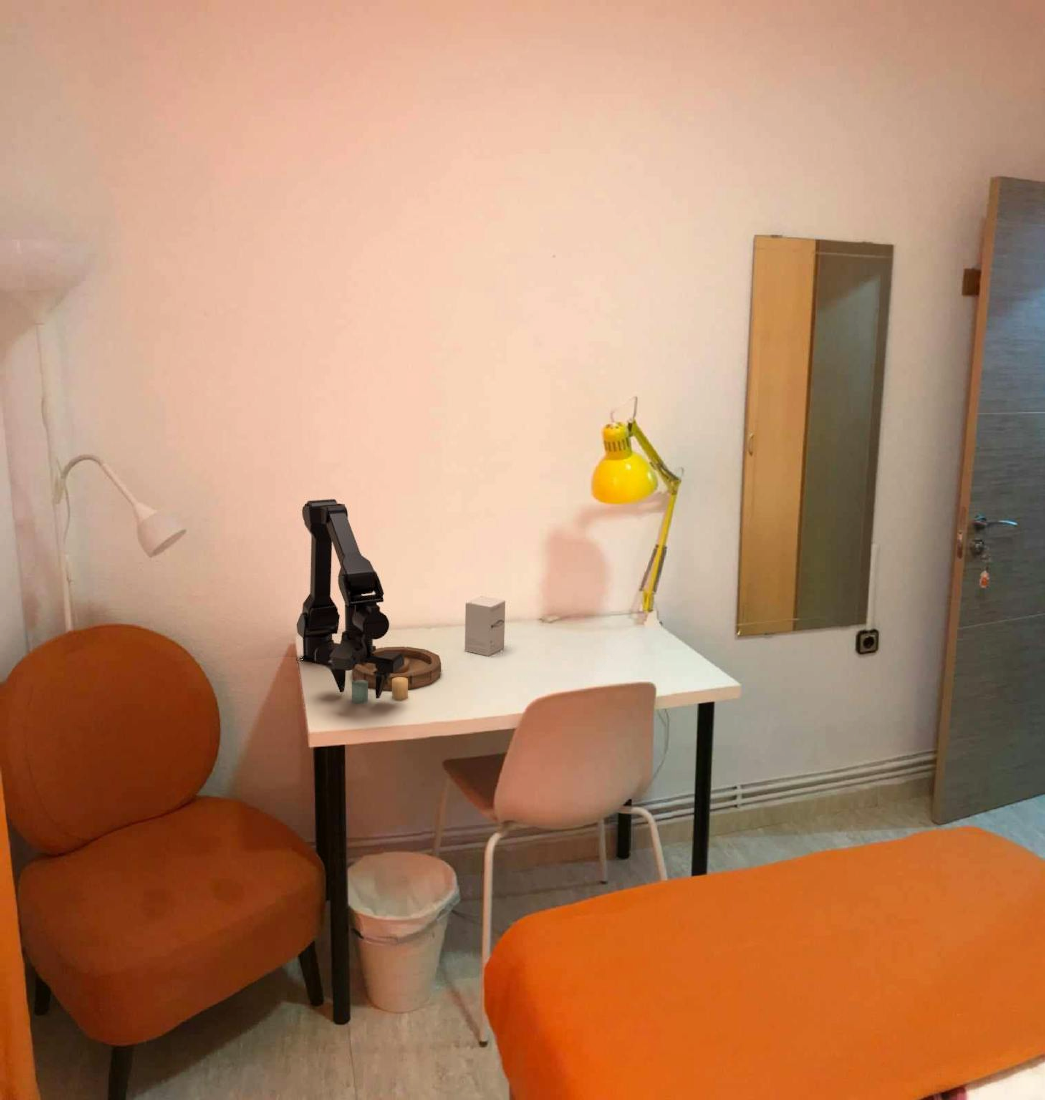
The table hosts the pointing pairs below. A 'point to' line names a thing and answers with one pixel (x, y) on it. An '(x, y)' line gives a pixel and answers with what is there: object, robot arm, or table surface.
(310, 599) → the robot arm
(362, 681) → the bead
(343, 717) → the table surface
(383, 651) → the groove tray
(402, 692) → the bead
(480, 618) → the supplement box
